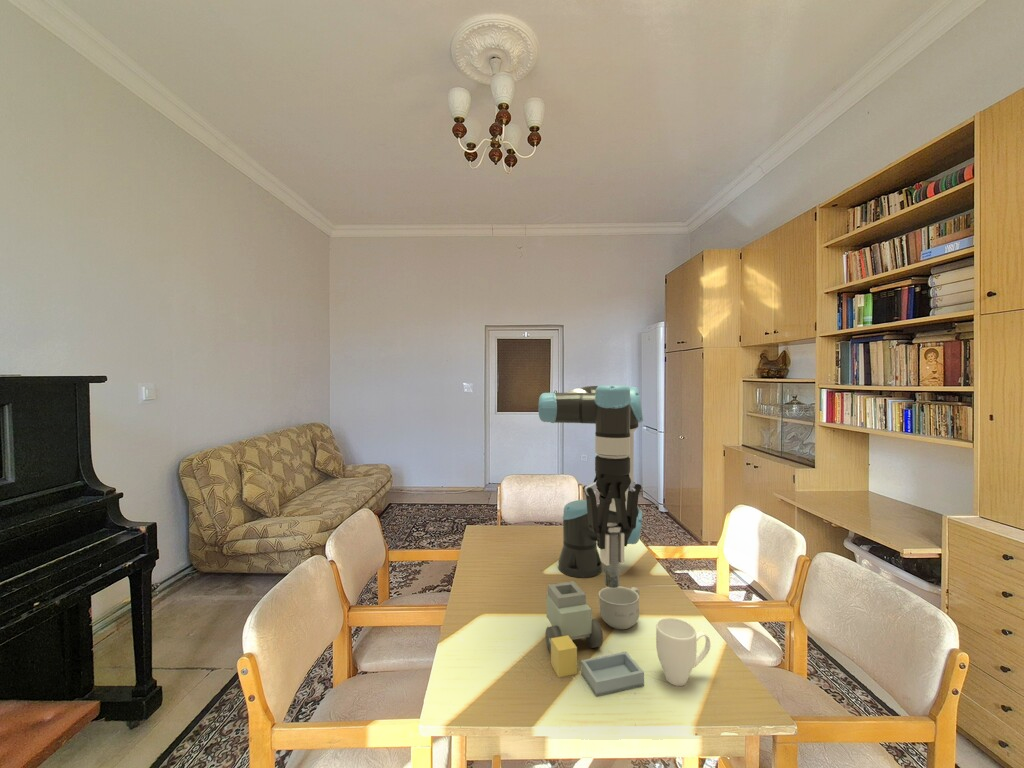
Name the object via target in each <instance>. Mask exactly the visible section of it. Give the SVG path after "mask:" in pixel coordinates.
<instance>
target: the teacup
mask: <svg viewBox="0 0 1024 768" xmlns="http://www.w3.org/2000/svg"><path fill="white" fill-rule="evenodd" d="M600 589H601V588H600ZM598 605H599V614H600V616H601V618H602V621H604V622H605V623H606V624H607V625H608V626H609V627H611V628H613V629H615V630H627V629H629V628H631V627H633V626H634V625H635V624H637V622H638V621H639V617H640V590H639V588H638V587H635V586H633V587H631V588H629V587H625V586H620V585H619V587H616V588H611V587H608V586H606V587H603V588H602V589H601V590H599V591H598Z"/></svg>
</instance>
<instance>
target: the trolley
mask: <svg viewBox="0 0 1024 768" xmlns="http://www.w3.org/2000/svg"><path fill="white" fill-rule="evenodd" d="M592 610H593V609H592V608H591V607H590V605H588V603H587V594H586V592H585V591H583V589H582V588H581V587H580V586H579V585H578V583H576V582H575V581H573V580H572V581H564V582H559V583H552V584H551V583H550V584H547V593H546V618H547V620H548V622H549V623H550V624H551V626H547V627H546V628H545V642H546V646H547V650H548V652H549V654H550V655H551V638H556V637H562V636H567V635H569V637H570V638H571V640H572V641H575V640H579V639H584V638H585V640H586V641H585V642H586V643H587V645H588V646H589V648H591V649H595V648H598V647H602V645H603V641H604V635H603V630H602V626H601V624H600V622H599V621H598V620H597V619H595V618H594V619H593V617H592Z"/></svg>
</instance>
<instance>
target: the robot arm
mask: <svg viewBox="0 0 1024 768" xmlns="http://www.w3.org/2000/svg"><path fill="white" fill-rule="evenodd" d="M642 408H643V407H642V402H641V395H640V390H639V388H638V387H636V386H630V385H590V386H589V385H588V386H583V387H578V388H574V389H570V390H568V392H566V391H565V392H553V391H552V392H542V393H541V394H540V395H539V399H538V411H537V412H538V418H539V420H540V421H541V422H543V423H551V424H560V423H561V424H591V425H592V424H593V425H595V433H594V434H595V437H594V438H595V439H594V440H595V441H594V442H595V443H594V453H595V454H596V455H595V457H594V471H595V476H594V479H593V482H592V483H590V484H589V485H587V484H586V485H583V486H582V490H583V493H584V495H585V498H586V499H577V500H573V501H569V502H568V503H566V504H565V505H564V508H563V514H562V519H563V520H562V521H563V524H562V525H563V527H562V529H563V530H562V531H563V532H562V535H563V537H562V540H563V542H562V543H563V544H562V548H561V551H560V555H559V558H558V561H557V562H558V565H557V568H558V570H559V571H560V572H561V573H563V574H565V575H567V576H570V577H574V578H585V579H586V578H593V577H597V576H598V575H600V573H602V569H603V564H604V566H605V565H606V566H607V565H609V535H608V534H607V533H606V530H607V523H617V524H620V525H621V532H619V564H621V565H623V564H625V547H627V546H628V545H636V544H637V543H638V542H639V541H640V536H641V531H642V522H643V510H642V509H641V508H639V505H638V504H639V495H640V492H641V490H642V485H641V484H639V483H637V482H635V481H634V459H635V457H634V443H635V442H634V437H635V436H634V434H635V433H634V432H635V431H637V430H638V429H639V423H642V422H643V421H644V417H643V410H642ZM597 491H598V492H599V496H598V500H599V502H598V503H599V505H598V504H597V496H596V495H597ZM598 549H599V550H600V551H599V550H598ZM599 553H600V554H599Z"/></svg>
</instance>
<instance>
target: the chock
mask: <svg viewBox="0 0 1024 768" xmlns="http://www.w3.org/2000/svg"><path fill="white" fill-rule="evenodd" d="M573 641H574V640H571V638H570V637H569V635H567V636H562V637H556V638H551V654H550V665H551V666H552V668H553V670H554V671H555V673H556V676H557V677H558V678H563V677H566V676H567V677H568V676H572V675H577V674H578V646H576V644H575V643H574V642H573Z"/></svg>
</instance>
